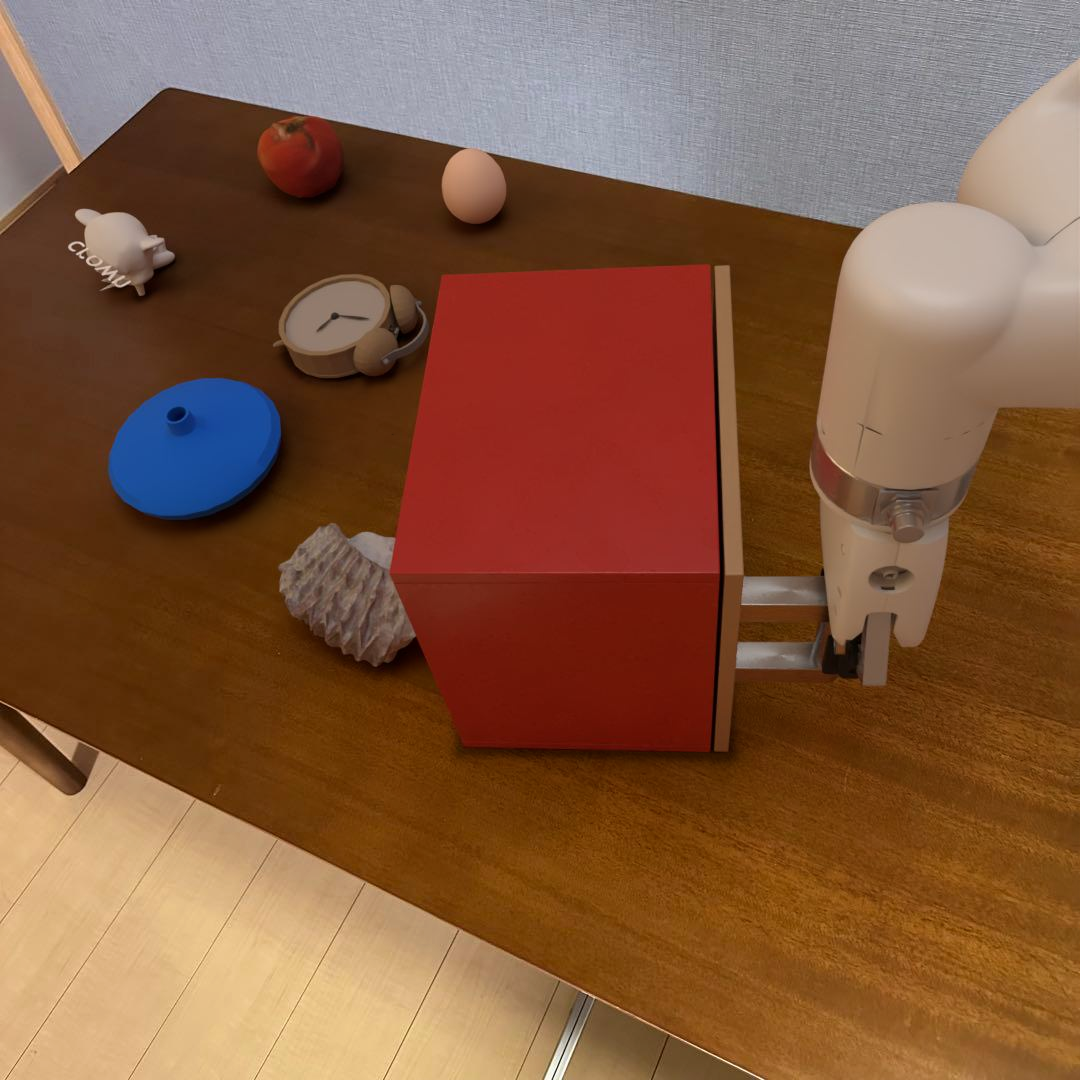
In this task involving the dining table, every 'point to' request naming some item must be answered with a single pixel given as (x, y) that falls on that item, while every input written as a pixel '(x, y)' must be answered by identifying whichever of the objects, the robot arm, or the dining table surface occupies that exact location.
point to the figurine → (121, 248)
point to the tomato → (301, 156)
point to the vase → (195, 448)
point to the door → (737, 591)
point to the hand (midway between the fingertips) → (844, 635)
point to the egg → (473, 186)
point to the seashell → (347, 593)
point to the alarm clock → (349, 326)
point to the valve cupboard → (567, 509)
